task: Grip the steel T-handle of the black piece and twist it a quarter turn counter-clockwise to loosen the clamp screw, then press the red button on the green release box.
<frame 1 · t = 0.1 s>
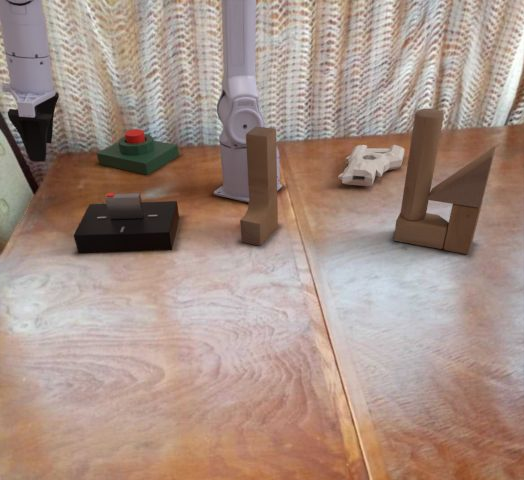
hand: (41, 151, 83), 10 cm above the table, tool pointing down, fingers open, 7 cm apart
release button: (135, 137, 103), point 4 cm above the table, slide at 0.1 cm
gun: (371, 172, 98), on the table
wooden block 2: (432, 243, 79), on the table
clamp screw: (124, 205, 80), point 5 cm above the table, hinge at 0.0°
black piece: (131, 234, 84), on the table
release box: (139, 160, 106), on the table
wooden block: (260, 235, 83), on the table
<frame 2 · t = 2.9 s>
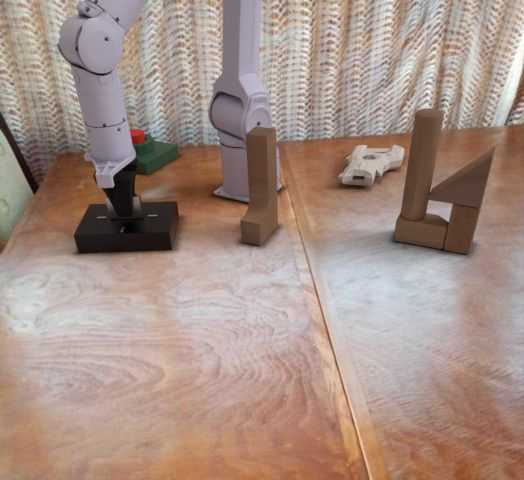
hand: (126, 213, 81), 4 cm above the table, tool pointing down, fingers closed on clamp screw
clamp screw: (124, 205, 80), point 5 cm above the table, hinge at 0.4°, touching gripper
everything else where it was.
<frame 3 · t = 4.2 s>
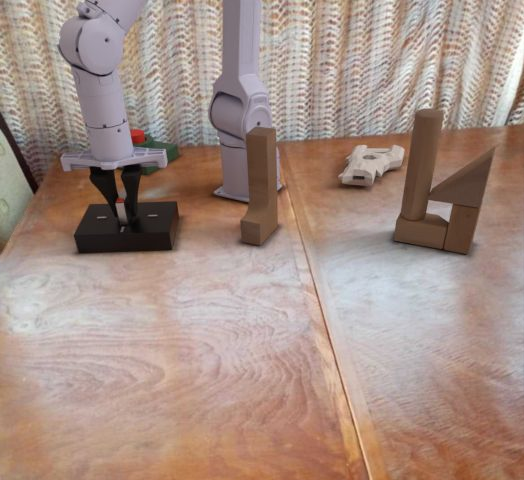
hand: (126, 213, 81), 4 cm above the table, tool pointing down, fingers closed
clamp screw: (124, 205, 80), point 5 cm above the table, hinge at 90.0°
everything else where it was.
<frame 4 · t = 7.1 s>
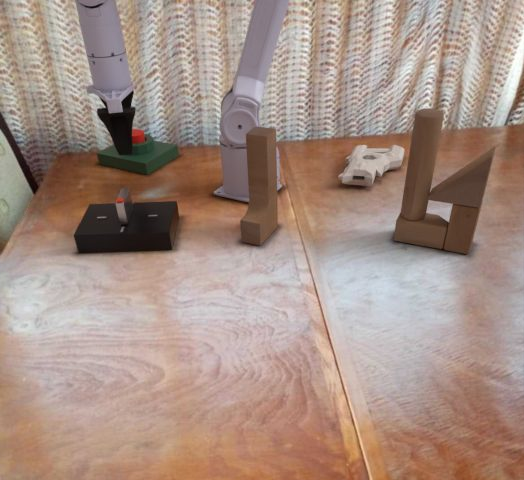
hand: (125, 145, 88), 9 cm above the table, tool pointing down, fingers open, 7 cm apart
nothing on the table moved.
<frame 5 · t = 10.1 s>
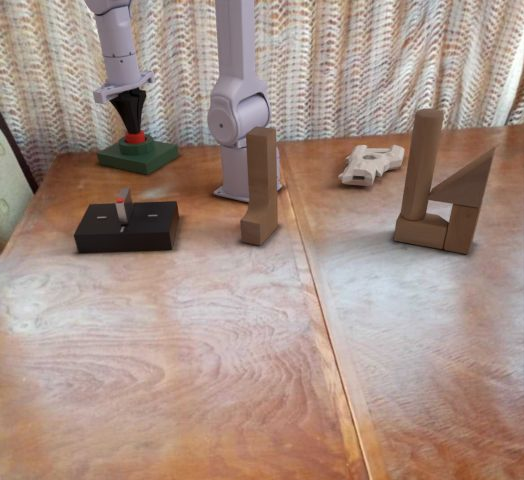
hand: (134, 132, 103), 5 cm above the table, tool pointing down, fingers closed, pressing on release button
release button: (135, 137, 103), point 4 cm above the table, slide at 0.1 cm, touching gripper
everything else where it was.
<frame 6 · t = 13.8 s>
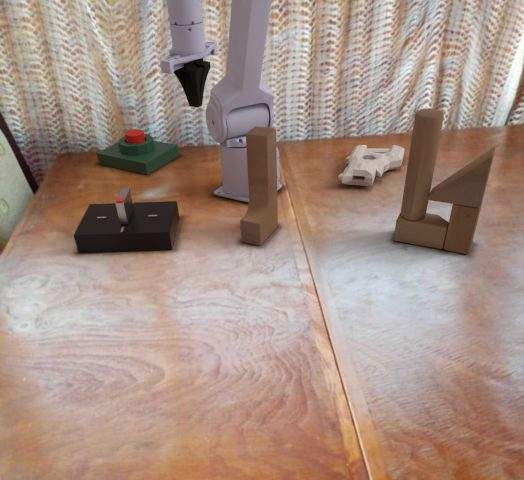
hand: (195, 105, 100), 9 cm above the table, tool pointing down, fingers closed
release button: (135, 137, 103), point 4 cm above the table, slide at 0.1 cm
everything else where it was.
at the end: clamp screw at +90° (first picture: +0°); release button pushed in 1.2 cm at the most during the clip, back to where it started at the end; release button slide at 0.1 cm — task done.
